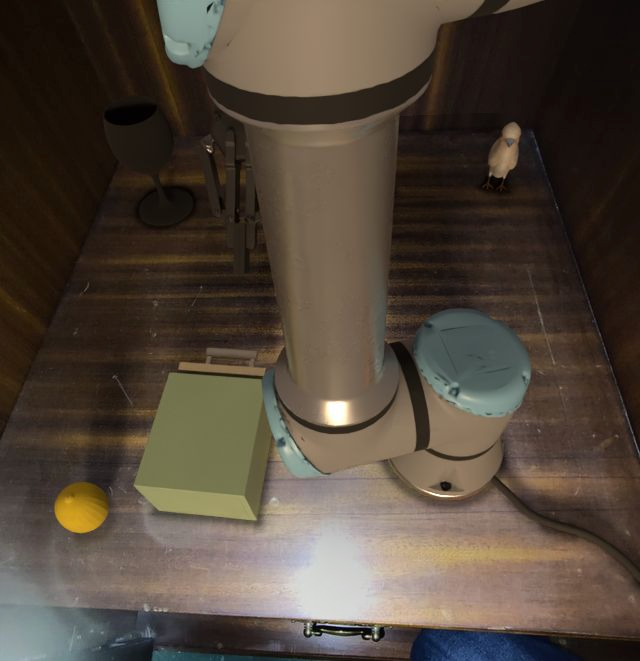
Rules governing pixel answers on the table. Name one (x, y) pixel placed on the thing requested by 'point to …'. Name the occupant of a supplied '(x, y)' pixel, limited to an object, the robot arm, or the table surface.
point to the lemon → (81, 507)
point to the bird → (504, 153)
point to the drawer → (225, 369)
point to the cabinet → (207, 447)
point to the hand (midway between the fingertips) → (241, 273)
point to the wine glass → (146, 154)
